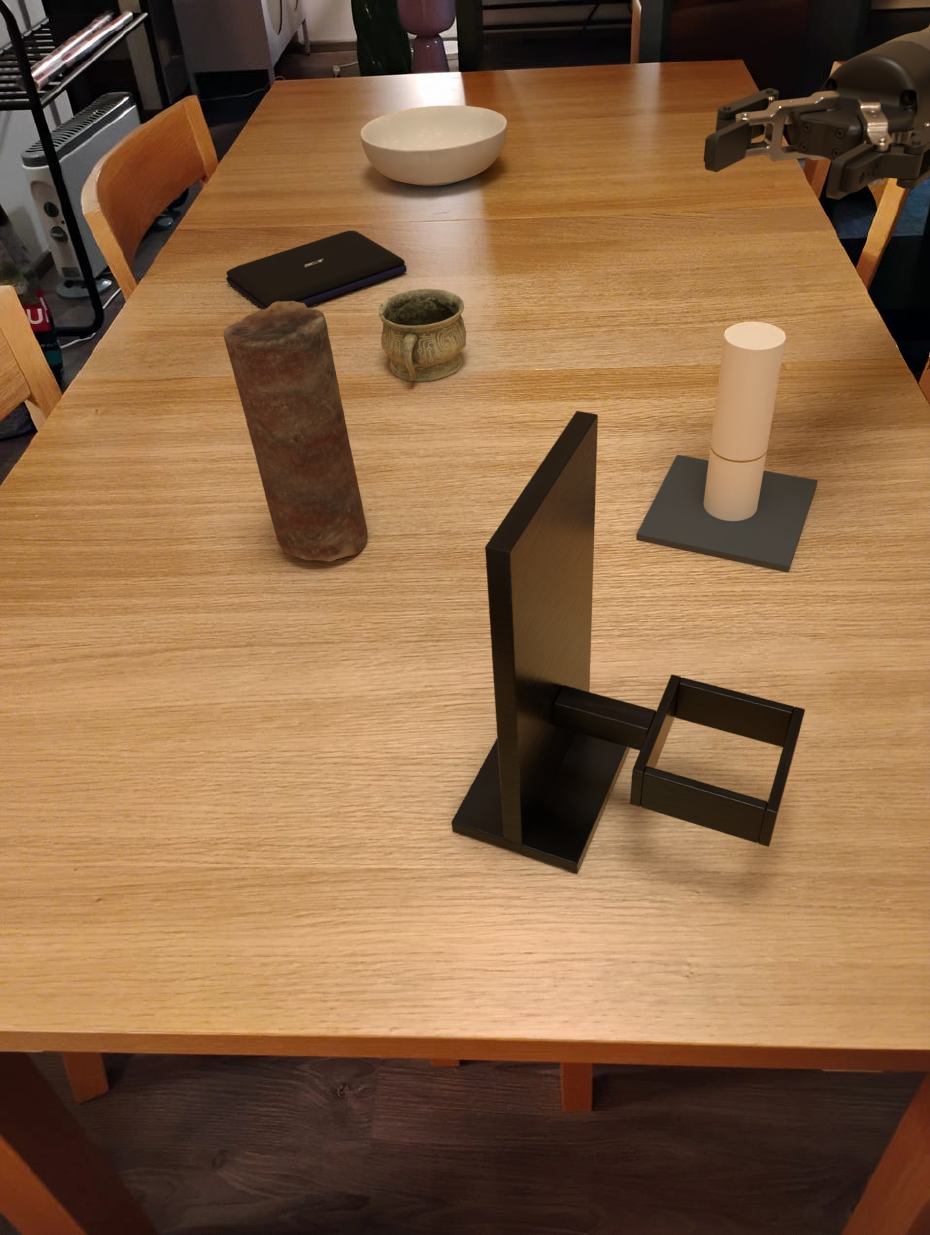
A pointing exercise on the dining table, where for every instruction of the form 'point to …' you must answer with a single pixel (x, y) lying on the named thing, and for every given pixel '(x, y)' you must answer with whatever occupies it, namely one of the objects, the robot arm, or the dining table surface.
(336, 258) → the laptop
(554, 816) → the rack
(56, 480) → the dining table surface
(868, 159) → the robot arm
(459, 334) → the vessel
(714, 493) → the tube
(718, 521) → the mat
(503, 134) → the serving bowl
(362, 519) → the candle
